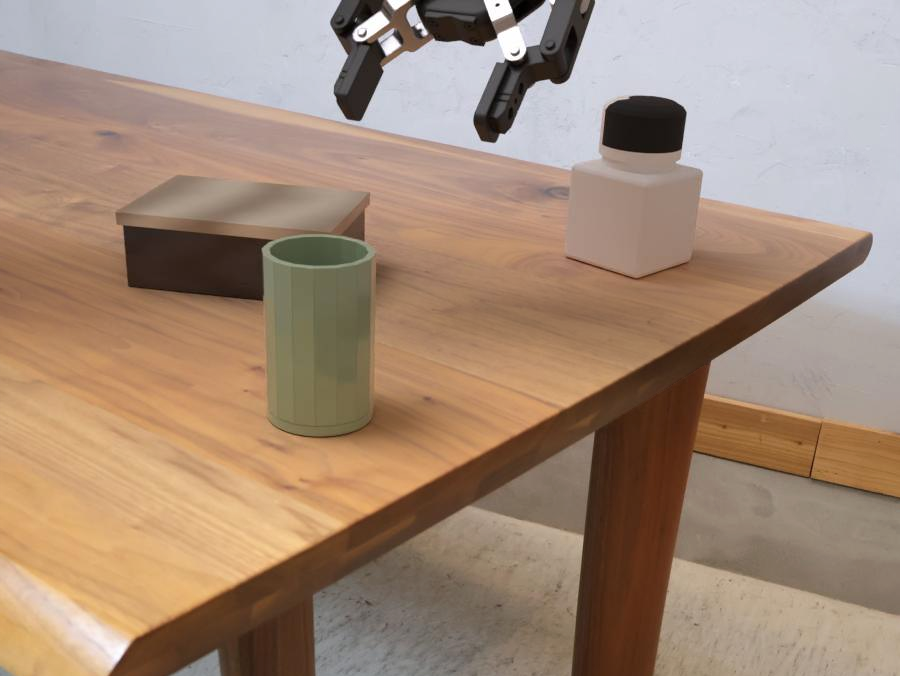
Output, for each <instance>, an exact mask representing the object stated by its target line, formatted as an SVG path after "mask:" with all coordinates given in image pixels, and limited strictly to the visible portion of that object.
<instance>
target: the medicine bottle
mask: <svg viewBox="0 0 900 676" xmlns="http://www.w3.org/2000/svg"><path fill="white" fill-rule="evenodd" d="M601 112H602V113H601V123H600V132H599V141H598V142H599V143H598V153H599V154H600V155H601V157H600V158H597V159H592V160H586V161H582V162H578V163H574V164H573V165H572V166H571V173H570V181H569V182H570V183H569V193H568V203H567V204H568V205H567V216H566V225H565V235H564V236H565V237H564V246H563V247H564V249H563V254H564V256H565V257H567V258H569V259H573V260H577V261H579V262H582V263H584V264H585V263H586V264H589V265H591V266H595V267H598V268H601V269H605V270H607V271H611V272H614V273H617V274H620V275H623V276H627V277H630V278H633V279H640V278H643V277H646V276H649V275H651V274H655V273H658V272H661V271H664V270H667V269H670V268H673V267H677V266H679V265H682V264H685V263H688V262H689V261H691V259H692V253H693V247H694V246H693V245H694V240H695V232H696V225H697V219H698V212H699V204H700V198H701V190H702V186H703V185H702V184H703V177H704V172H703V170H702V169H701V168H697V167H693V166H689V165H684V164H680V163H677V162H678V161H680V160H681V158H682V152H683V143H684V137H685V129H686V123H687V114H688V111H687V110H686V108H685V107H684V106H683V105H682V104H680V103H679V102H677V101H676V100H674V99H671V98H668V97H663V96H657V95H656V96H655V95H646V94H624V95H619V96H618V95H617V96H616V97H614V98H611V99H609V100H607V101H606V102H605V103H604V104H603V106H602V111H601Z"/></svg>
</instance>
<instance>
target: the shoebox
mask: <svg viewBox="0 0 900 676" xmlns="http://www.w3.org/2000/svg"><path fill="white" fill-rule="evenodd" d="M370 205H371V192H370V191H363V190H350V189H341V188H328V187H320V186H319V187H317V186H316V187H315V186H307V185H294V184H285V183H274V182H273V183H272V182H263V181H251V180H241V179H229V178H220V177H219V178H218V177H207V176H197V175H196V176H195V175H184V174H176V175H174V176H173V177H171V178H169V179H168V180H166V181H165V182H162V183H160V184H159V185H158V186H156V187H155V188H152V189H150V190H149V191H148V192H146V193H143V194H142V195H141V196H139V197H137V198H136V199H134V200H132V201H131V202H129V203H128V204H125V205H124V206H123V207H121V208H119V209H117V210H116V211H115V222H116V225H117V226H122V231H123V232H122V233H123V242H124V244H123V245H124V255H125V265H126V279H127V287H134V288H143V289H154V290H163V291H171V292H173V291H174V292H180V293H181V292H182V293H191V294H200V295H210V296H220V297H230V298H237V299H239V298H240V299H247V300H248V299H249V300H257V301H263V281H262V248H263V247H264V246H265V245H266V244H267V243H268V242H271V241H274V240H277V239H280V238H283V237H289V236H296V235H306V234H327V235H337V236H345V237H350V238H354V239H358V240H362V241H364V242H366V241H365V237H366V236H365V231H366V230H365V229H366V225H365V224H366V209H367V208H368V207H369V206H370Z"/></svg>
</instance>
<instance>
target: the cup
mask: <svg viewBox="0 0 900 676" xmlns="http://www.w3.org/2000/svg"><path fill="white" fill-rule="evenodd" d="M262 281H263V300H262V310H263V313H262V314H263V343H264V345H263V346H264V369H265V370H264V371H265V372H264V373H265V375H264V377H265V378H264V379H265V403H266V416H267V419H268V421H269V422H270V423H271V424H272V425H273V426H274V427H276V428H277V429H280V430H282V431H284V432H287V433H290V434H293V435H298V436H303V437H320V438H321V437H335V436H341V435H345V434H349V433H353V432H355V431H358V430H360V429H362V428H363V427H366V425H368V424H369V423H370V421H371V420H372V418H373V415H374V405H375V360H376V359H375V355H376V353H375V351H376V300H377V299H376V295H377V294H376V293H377V291H376V289H377V251H376V249H375V248H374V246H373V245H371V244H370V243H367V242H366V241H365V242H364V241H362V240H358V239H354V238H350V237H345V236H337V235H327V234H306V235H296V236H289V237H283V238H280V239H277V240H274V241H271V242H268V243H267V244H266V245H265V246H264V247H263V248H262Z"/></svg>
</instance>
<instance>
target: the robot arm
mask: <svg viewBox="0 0 900 676" xmlns="http://www.w3.org/2000/svg"><path fill="white" fill-rule="evenodd" d="M546 1H547V0H340V2H339V4H338V6H337V7H336V9H335V11H334V12H333V15H332V16H331V18H330V21H329V25H330V27H331V29H332V31H333V32H334V34H335V36H336V38H337V40H338V41H339V44H341V46H342V48H343V50H344V52H345V54H346V55H347V57H346V59H345V61H344V63H343V66H342V68H341V70H340V72H339V73H338V76H337V78H336V80H335V82H334V85H333V95H334V97H335V101H336V104H337V106H338V108H339V109H340V111H341V113H342V115H343V116H344V118H345V119H346V120H348V121H354V122H361V121H362V120H363V118H364V117H365V113H366V112H367V109H368V108H369V105H370V103H371V101H372V99H373V97H374V94H375V92H376V90H377V88H378V85H379V83H380V81H381V79H382V77H383V75H384V72H385V71H384V69H383V67H385V66H386V65H388V64H389V63H391V62H392V61H393V60H395V59H396V58H398V56H401V54H403V53H404V52H409V53H415V52H417V51H418V50H420V49H421V48H422V47H424V46H425V45H427V44H428V43H430V42H431V41H433V40H434V41H435V42H442V43H452V42H463V43H466V44H468V45H469V46H476V47H482V48H483V47H485V45H486V43H489V42H493V41H495V40H498V42H499V45H500V48H501V50H502V53H503V56H504V61H503V62H499V61H497V62H495V65H494V67H493V69H492V71H491V74H490V76H489V78H488V81H487V83H486V86H485V88H484V90H483V93H482V95H481V97H480V99H479V101H478V103H477V106H476V109H475V111H474V113H473V117H472V118H473V120H472V123H473V127H474V129H475V131H476V133H477V135H478V138H479V140H480V141H481V142H484V143H489V144H490V143H491V144H496V143H497V142H498V139H499V137H500V135H506V134H507V133H508V132H509V130H511V129H512V127H513V124H514V123H515V120H516V118H517V115H518V112H519V111H520V108H521V106H522V104H523V101H524V98H525V96H526V94H527V91H528V90H529V89H531V88H533V87H534V86H535V84H536V83H538V82H542V81H548V80H549V81H550V83H552V84H554V85H561V84H564V83H566V82H568V81H569V80H570V78H571V75H572V72H573V71H574V68H575V63H576V61H577V59H578V55H579V52H580V49H581V46H582V43H583V40H584V38H585V34H586V32H587V28H588V26H589V23H590V19H591V17H592V14H593V10H594V8H595V5H596V0H548V2H549V6H550V9H551V11H550V12H549V16H548V20H547V22H546V25H545V28H544V30H543V34H542V36H541V39H540V42H539V44H536V45H530V46H526V44H525V41H524V39H523V35H522V33H521V31H520V28H519V23H521V22H522V21H524V19H526V18H527V17H529V16H531V14H533V13H534V12H536V11H537V10H538V9H540V8H541V7H542V6H543V5H544V4H545V3H546ZM413 7H415V10H416V13H417V16H418V18H419V20H420V21H419V22H417V23H415V24H414V25H411V24H410V22H409V20H408V16H407V15H408V12H409V11H410V10H411V9H412V8H413ZM392 30H393V32H392V33H391V34H390V35H389V36H388V37H386V38H385V39H383V40H382V41H379V39H380V38H381V37H383V36H385V34H387V33H389V32H390V31H392Z"/></svg>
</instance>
